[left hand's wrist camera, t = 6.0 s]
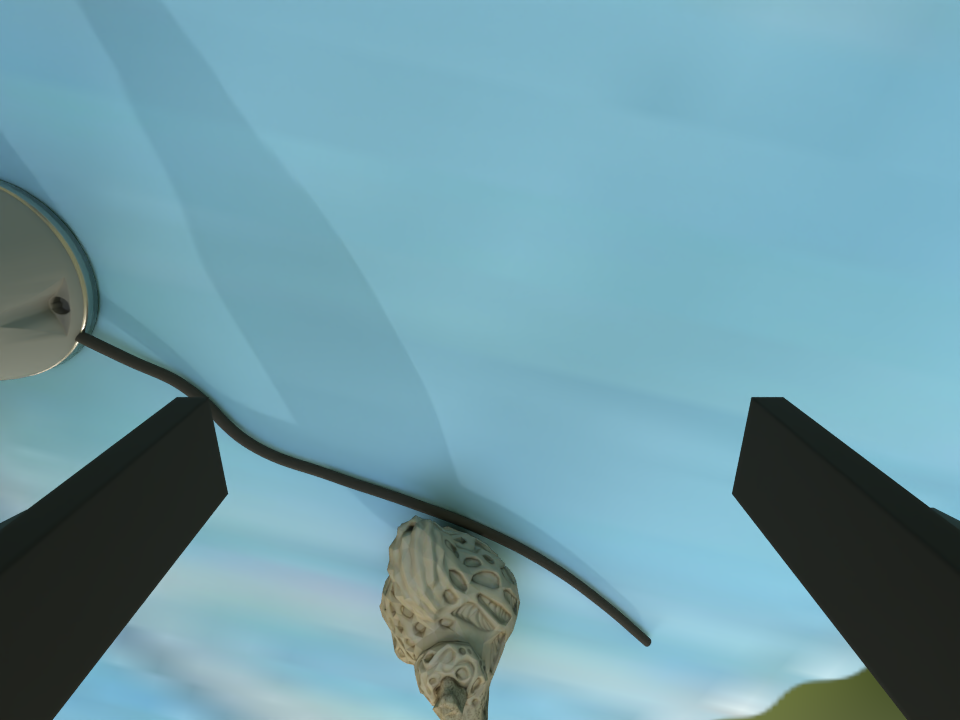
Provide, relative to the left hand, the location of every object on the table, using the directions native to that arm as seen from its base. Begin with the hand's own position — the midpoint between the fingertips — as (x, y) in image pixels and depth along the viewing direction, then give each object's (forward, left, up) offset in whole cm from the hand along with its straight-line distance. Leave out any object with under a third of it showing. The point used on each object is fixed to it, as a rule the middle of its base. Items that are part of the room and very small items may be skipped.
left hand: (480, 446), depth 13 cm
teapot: (+29, -2, -28) cm, 40 cm away
